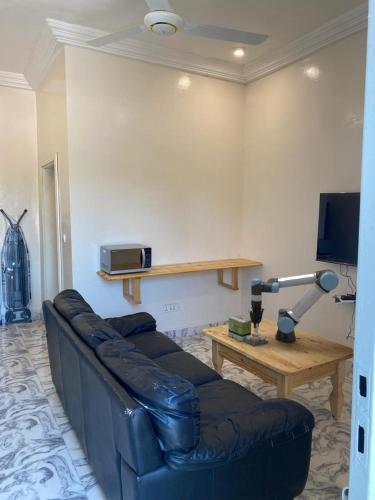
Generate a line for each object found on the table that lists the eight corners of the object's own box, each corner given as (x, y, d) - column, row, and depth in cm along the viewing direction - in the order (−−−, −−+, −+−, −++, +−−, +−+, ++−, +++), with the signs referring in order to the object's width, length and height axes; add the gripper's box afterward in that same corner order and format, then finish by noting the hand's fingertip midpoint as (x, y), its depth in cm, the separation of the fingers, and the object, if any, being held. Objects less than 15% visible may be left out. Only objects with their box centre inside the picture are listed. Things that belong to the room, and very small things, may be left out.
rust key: (255, 341, 280) (255, 336, 279) (259, 342, 276) (259, 338, 276) (250, 342, 278) (250, 337, 277) (254, 344, 274) (254, 339, 273)
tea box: (227, 336, 294) (228, 317, 293) (237, 333, 300) (237, 315, 298) (241, 341, 282) (242, 322, 281) (251, 339, 288) (252, 319, 287)
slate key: (256, 337, 288) (256, 332, 287) (260, 339, 284) (260, 334, 283) (252, 338, 285) (252, 333, 285) (256, 340, 282) (256, 335, 281)
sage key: (250, 340, 285) (250, 335, 284) (254, 342, 281) (254, 337, 280) (245, 341, 282) (245, 336, 282) (249, 343, 279) (249, 338, 278)
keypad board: (257, 338, 289) (257, 336, 289) (268, 343, 279) (268, 340, 279) (243, 341, 283) (243, 338, 282) (254, 346, 272) (254, 344, 272)
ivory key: (261, 339, 283) (261, 334, 282) (265, 341, 279) (265, 336, 279) (257, 340, 281) (257, 335, 280) (261, 342, 277) (261, 337, 276)
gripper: (259, 297, 284) (259, 329, 286) (245, 300, 277) (245, 332, 280) (266, 300, 277) (266, 331, 280) (252, 302, 271) (252, 335, 273)
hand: (256, 332), depth 280 cm, fingers closed
